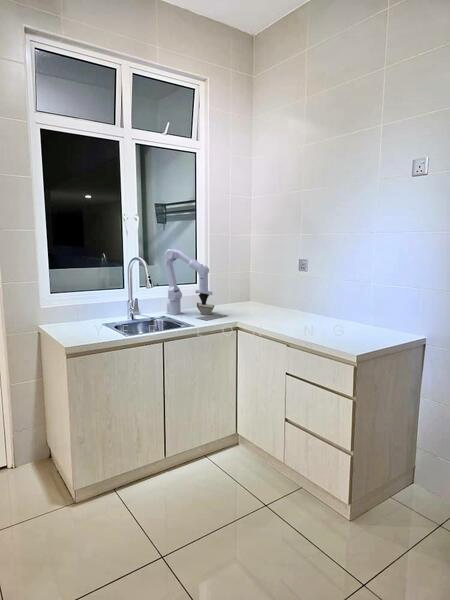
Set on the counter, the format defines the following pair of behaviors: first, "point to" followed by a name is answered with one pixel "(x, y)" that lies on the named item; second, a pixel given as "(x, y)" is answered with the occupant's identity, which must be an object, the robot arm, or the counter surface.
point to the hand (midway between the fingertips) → (203, 304)
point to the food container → (205, 308)
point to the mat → (212, 317)
